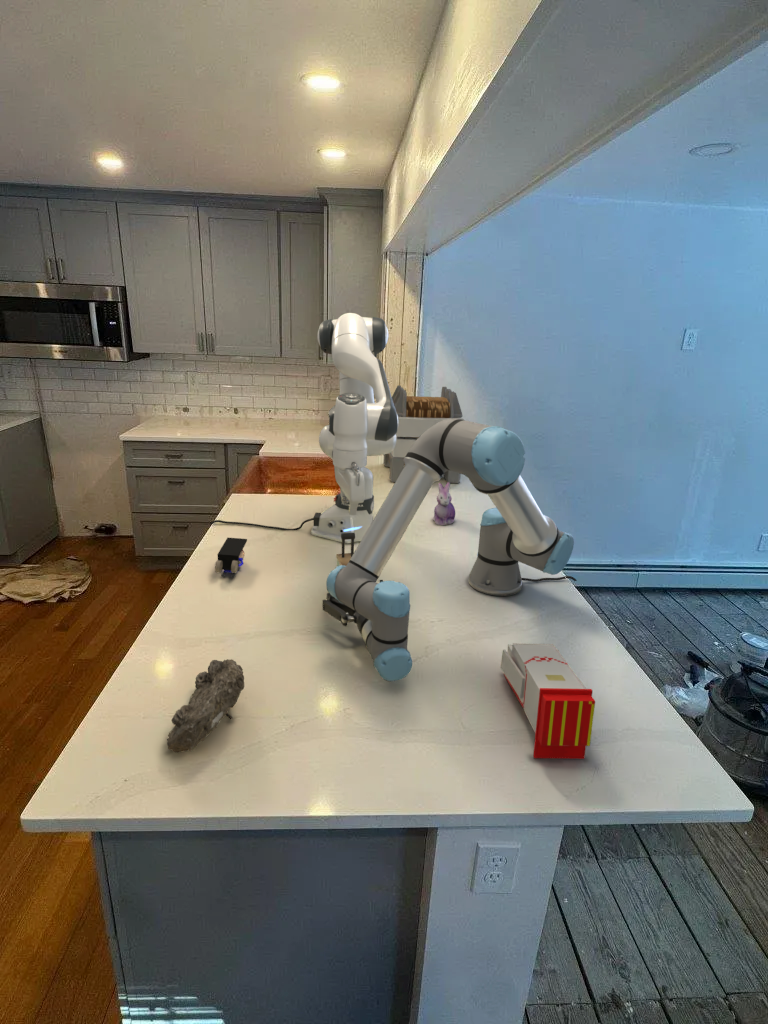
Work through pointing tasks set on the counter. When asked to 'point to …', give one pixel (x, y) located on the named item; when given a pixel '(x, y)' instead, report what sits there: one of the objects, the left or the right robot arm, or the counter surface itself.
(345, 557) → the lid
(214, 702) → the fossil
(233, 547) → the figurine character
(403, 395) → the transformer
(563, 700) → the toy
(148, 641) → the counter surface
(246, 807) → the counter surface
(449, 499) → the figurine
